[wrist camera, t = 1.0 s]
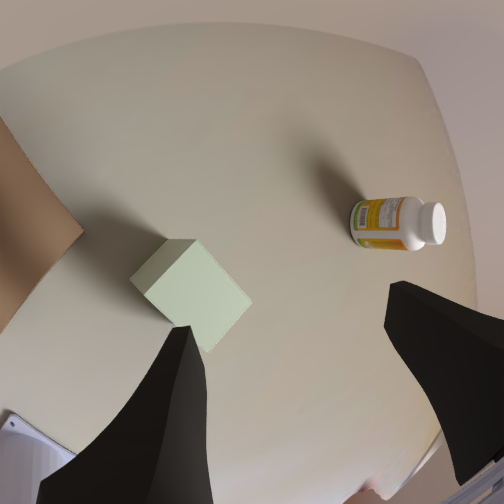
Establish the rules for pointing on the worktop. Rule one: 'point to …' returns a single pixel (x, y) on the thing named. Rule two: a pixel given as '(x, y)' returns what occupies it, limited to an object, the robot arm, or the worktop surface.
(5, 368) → the worktop surface
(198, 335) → the sage-green block
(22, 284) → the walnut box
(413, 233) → the supplement bottle
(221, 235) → the worktop surface
